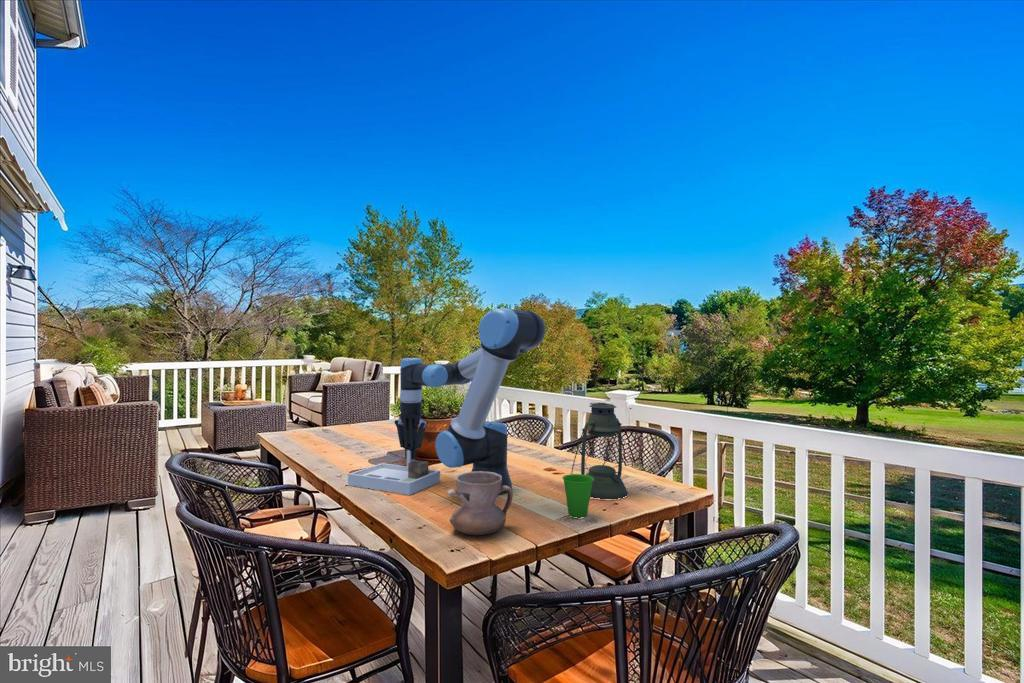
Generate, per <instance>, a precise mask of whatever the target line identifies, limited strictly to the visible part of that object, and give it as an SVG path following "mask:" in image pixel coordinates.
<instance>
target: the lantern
mask: <svg viewBox="0 0 1024 683" xmlns="http://www.w3.org/2000/svg"><path fill="white" fill-rule="evenodd" d="M588 407H590V409H591V412H590V413H589V415H588V421H587V422H586V423H585V425H584V427H583V428H582V429H581V431H582V432H581V436H580V439H579V442H578V446H577V448H576V451H575V455H574V459H573V463H572V466H571V467H572V468H571V473H570V474H573V471H574V466H575V462H576V458H577V454H578V450H579V448H580V444H581V456H580V458H581V462H580V464H581V465H580V472H581V473H580V474H582V475H588V476H591V477H593V478H594V481H593V482H592V488H591V494H590V497H593V498H600V499H618V498H623V497H625V496H627V494H628V495H629V491H628V490H627V488H626V485H625V484H624V481H623V480H622V478H621V477H622V471H623V445H622V444H623V443H622V442H623V440H622V427H621V426H622V423H621V422H620V421H619V419H618V418H617V415H616V414H615V408H617V406H616V405H614V404H613V403H606V402H594V403H593V402H590V403H589V406H588ZM588 435H589V436H593V437H601V438H605V437H607V438H610V437H614V439H613V441H612V443H611V444H609V445H606V446H603V447H601V448H599V449H597V450H595V449H594V448H593V447H591V446H590V444H588V442H587V436H588ZM616 438H617V442H615V440H616ZM581 441H582V442H581ZM616 443H617V444H618V450H617V453H618V456H617V457H618V460H615V459H612V458H610V457H609V455H610V453H611V450H612V449H613V445H615V444H616ZM586 444H587V445H588V447H589V448H591V449H592V450H593V452H592V453H590V454H588V456H587V457H586ZM609 446H610V449H609V450H608V454H607V455H604V454H602V453H601V452H598V451H600V450H602V449H604V448H606V447H609ZM593 453H597V454H600V455H602V456H603V457H605V460H604V462H603V463H602V464H597V465H596V464H595V465H592V466H590V467H589V468H588V467H587V460H588V458H589V457H590V456H591V455H592V454H593ZM608 459H610V460H612V461H613V462H616V463H617V464H618V465H617V466H610V465H605V464H606V462H607V460H608ZM585 468H586V470H587V471H588V472H587V473H585V472H586V470H585ZM615 468H618V469H617V470H616V469H615ZM627 497H628V496H627ZM623 499H624V498H623Z"/></svg>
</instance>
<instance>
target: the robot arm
mask: <svg viewBox="0 0 1024 683" xmlns="http://www.w3.org/2000/svg"><path fill="white" fill-rule="evenodd" d="M477 330H478V333H479V334H478V337H479V338H478V339H479V341H480V346H479V347H480V348H478V349H476V350H475V351H473V352H471V353H470V354H468V355H467V356H464V357H462V358H461V359H459V360H458V361H457V362H454V363H439V364H438V363H437V364H436V363H435V364H434V363H433V364H432V363H431V364H426V363H424V364H423V360H422V358H421V357H419V358H413V357H408V358H407V357H406V358H404V357H403V358H402V359H401V361H400V369H399V370H400V377H399V378H400V380H399V381H400V392H399V394H400V395H399V396H400V399H399V400H400V401H401V402H400V405H399V408H400V409H399V410H400V411H399V412H400V415H399V418H398V419H396V420H394V425H395V426H396V429H397V437H398V441H399V447H400V448H403V449H404V455H405V456H404V458H405V459H406V466H407V469H408V463H411V462H414V461H416V459H417V450H418V449H421V448H422V446H423V441H424V438H425V431H426V428H427V426H428V424H429V423H428V421H424V419H423V416H422V412H423V403H422V400H423V398H422V397H423V386H424V387H430V388H441V387H443V386H452V385H453V386H454V385H455V386H456V385H459V386H460V385H461V386H463V385H466V384H469V387H468V389H467V393H466V395H465V398H464V400H463V402H462V405H461V408H460V410H459V413H458V415H457V416H456V417H453V418H452V419H451V420H450V423H449V425H448V428H447V430H442V431H441V432H440V433H438V434H437V436H436V439H435V451H436V455H437V457H438V460H440V462H441V464H442V465H444V466H445V467H447V468H451V469H452V468H453V469H454V468H462V467H463V466H467V465H472V468H471V471H470V472H475V471H477V472H478V471H483V472H494V473H497V474H500V475H501V476H502V483H501V486H504V485H506V486H509V487H510V488H511V489H513V481H512V479H511V476H510V471H509V469H508V427H507V425H506V424H505V423H503V422H498V421H492V420H491V421H490V420H489V421H488V420H487V418H488V416H489V413H490V412H491V408H492V406H493V404H494V402H495V399H496V396H497V394H498V391H499V389H500V386H501V384H502V382H503V379H504V376H505V375H506V372H507V369H508V367H509V365H510V363H512V362H514V361H516V360H517V359H518V356H519V355H520V354H522V355H523V354H526V353H527V352H529V351H531V350H533V349H535V348H536V347H538V346H540V345H541V343H542V342H543V340H544V338H545V336H546V325H545V322H544V320H543V318H542V317H541V316H540V315H539V314H538V313H536V312H535V311H531V310H525V309H524V310H523V309H512V308H509V307H503V308H494V309H491V310H489V311H487V313H485V314H484V315H483V316H482V318H481V320H480V322H479V324H478V329H477ZM506 494H507V491H502V492H501V493H500V494H498V496H500V495H506Z"/></svg>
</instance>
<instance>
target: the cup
mask: <svg viewBox="0 0 1024 683" xmlns="http://www.w3.org/2000/svg"><path fill="white" fill-rule="evenodd" d="M562 480H563V484H564V493H565V497H566V506H567V512H568V516H569V515H570V516H572V517H577V518H581V517H586V518H587V516H588V513H589V512H588V511H589V505H590V500H591V499H590V494H591V488H592V482H593V481H594V478H593V477H591V476H588V475H586V474H585V475H582V474H581V473H572V474H571V473H569V474H565V475H563V476H562ZM570 516H569V517H570Z"/></svg>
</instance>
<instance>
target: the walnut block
mask: <svg viewBox="0 0 1024 683" xmlns="http://www.w3.org/2000/svg"><path fill="white" fill-rule="evenodd" d="M428 469H429V461H423V460H415V461H414V462H411V463H408V478H414V479H418V478H421V477H423V476H426V475H428Z"/></svg>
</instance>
